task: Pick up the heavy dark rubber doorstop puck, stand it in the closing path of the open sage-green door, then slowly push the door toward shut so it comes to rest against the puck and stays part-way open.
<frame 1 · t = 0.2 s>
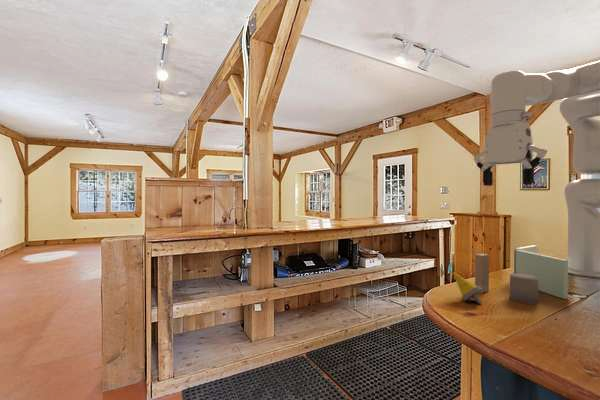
hand: (506, 185, 80), 30 cm above the table, fingers open, 9 cm apart
doorstop: (523, 299, 78), on the table
drill bit: (467, 302, 78), on the table
door: (538, 271, 85), point 5 cm above the table, hinge at 75.0°
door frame: (516, 282, 92), on the table
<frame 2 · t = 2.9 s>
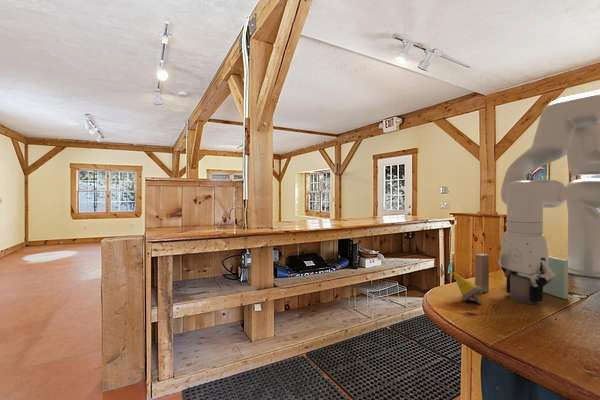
hand: (523, 296, 78), 1 cm above the table, fingers closed on doorstop, 6 cm apart
doorstop: (523, 299, 78), on the table, touching gripper
everything else where it was.
when the fingers open (1 cm above the table, at t = 8.8 s): doorstop stays where it is, on the table.
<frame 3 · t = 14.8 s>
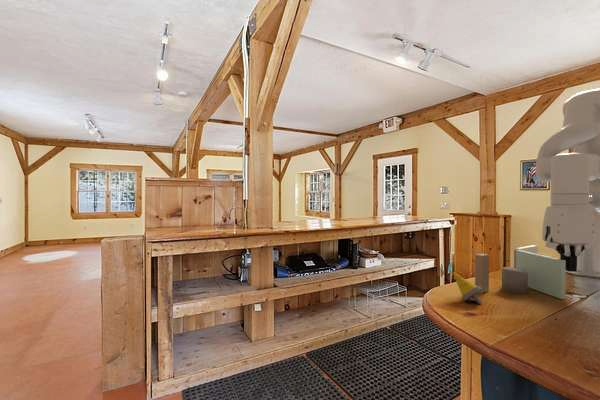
hand: (568, 270, 79), 7 cm above the table, fingers closed
doorstop: (514, 290, 85), on the table
door: (536, 272, 85), point 5 cm above the table, hinge at 71.8°, touching gripper
everything else where it was.
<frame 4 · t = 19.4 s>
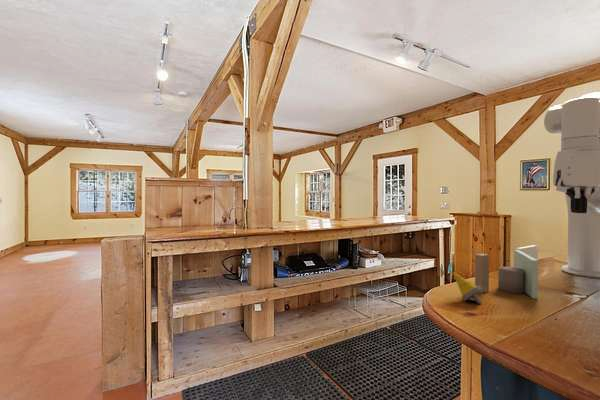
hand: (578, 212, 82), 22 cm above the table, fingers closed
doorstop: (510, 290, 86), on the table, touching door
door: (524, 271, 85), point 5 cm above the table, hinge at 44.7°, touching doorstop
everything else where it was.
at the end: door at +45° (first picture: +75°); doorstop touching door, table; doorstop tilted 0° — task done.
